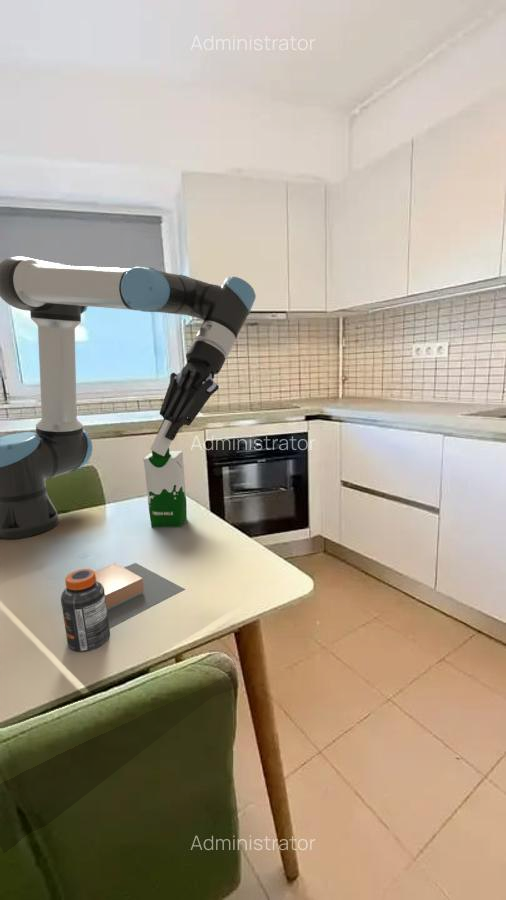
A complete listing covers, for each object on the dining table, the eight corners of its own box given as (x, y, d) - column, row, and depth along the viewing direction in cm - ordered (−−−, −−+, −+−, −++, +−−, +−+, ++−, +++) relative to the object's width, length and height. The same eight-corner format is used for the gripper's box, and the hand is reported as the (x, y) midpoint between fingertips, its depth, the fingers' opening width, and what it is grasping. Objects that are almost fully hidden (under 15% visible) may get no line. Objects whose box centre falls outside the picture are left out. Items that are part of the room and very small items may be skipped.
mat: (62, 597, 79) (61, 593, 79) (135, 566, 90) (135, 562, 89) (108, 633, 68) (107, 629, 68) (185, 593, 79) (185, 589, 79)
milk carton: (146, 531, 107) (138, 450, 103) (158, 517, 116) (151, 442, 112) (182, 531, 106) (175, 449, 102) (191, 517, 115) (185, 441, 111)
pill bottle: (68, 637, 68) (57, 569, 65) (108, 627, 70) (100, 561, 68) (68, 662, 62) (57, 588, 60) (112, 649, 65) (103, 578, 62)
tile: (117, 577, 84) (71, 597, 77) (115, 563, 83) (68, 582, 77) (144, 593, 78) (96, 617, 71) (142, 578, 77) (93, 600, 71)
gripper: (178, 336, 92) (124, 437, 88) (220, 340, 83) (163, 452, 80) (201, 356, 98) (151, 452, 94) (243, 362, 89) (190, 468, 85)
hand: (157, 452), depth 87 cm, fingers closed
